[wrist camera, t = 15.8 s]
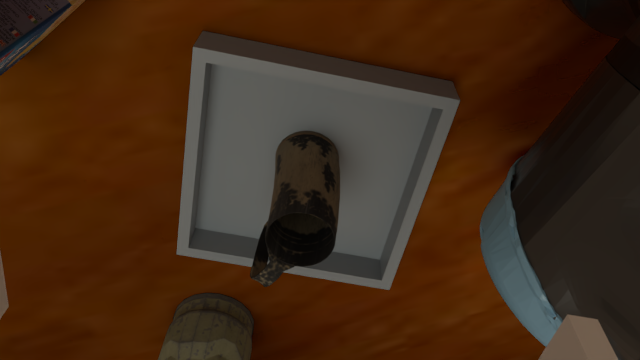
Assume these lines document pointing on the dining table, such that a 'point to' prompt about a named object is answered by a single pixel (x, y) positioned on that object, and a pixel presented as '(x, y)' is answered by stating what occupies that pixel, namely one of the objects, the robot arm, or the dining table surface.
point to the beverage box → (28, 25)
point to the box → (307, 115)
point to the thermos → (209, 330)
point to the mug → (300, 207)
